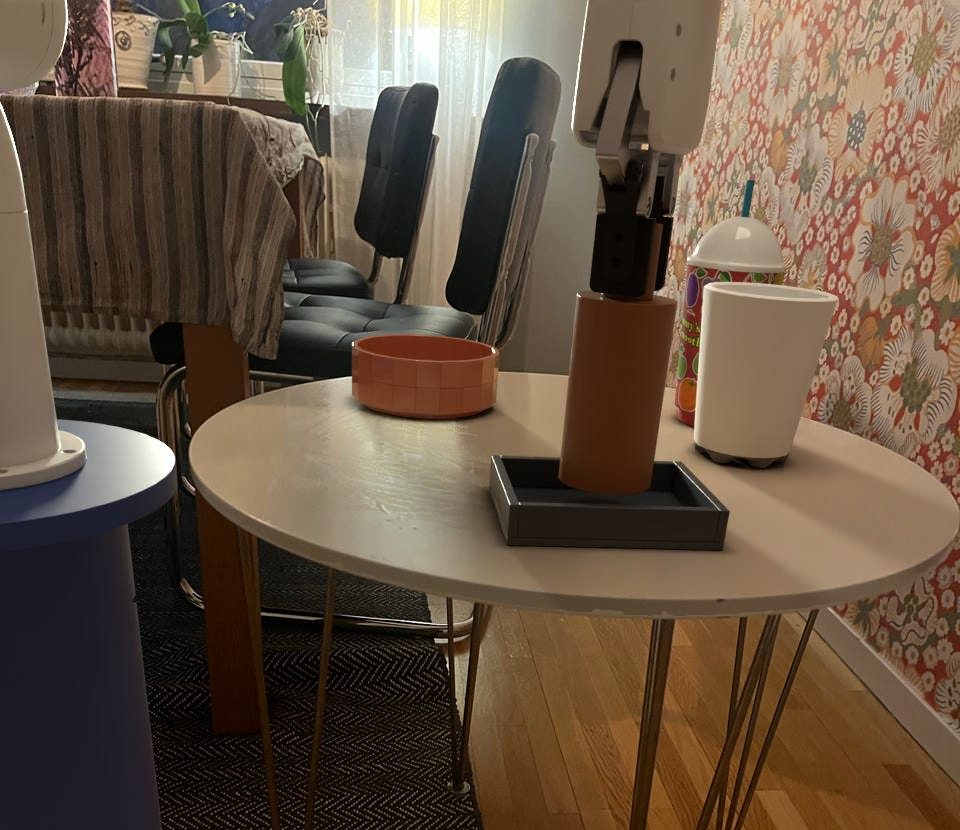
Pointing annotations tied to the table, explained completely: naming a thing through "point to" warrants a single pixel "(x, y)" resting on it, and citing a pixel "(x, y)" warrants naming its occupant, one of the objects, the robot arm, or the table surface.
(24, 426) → the robot arm
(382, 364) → the bowl
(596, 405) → the bottle
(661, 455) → the table surface
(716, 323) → the cup
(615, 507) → the tray
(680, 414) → the smoothie
